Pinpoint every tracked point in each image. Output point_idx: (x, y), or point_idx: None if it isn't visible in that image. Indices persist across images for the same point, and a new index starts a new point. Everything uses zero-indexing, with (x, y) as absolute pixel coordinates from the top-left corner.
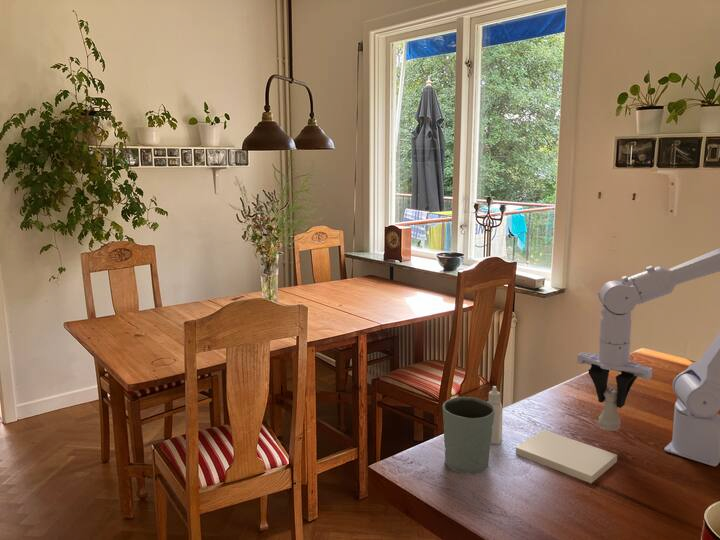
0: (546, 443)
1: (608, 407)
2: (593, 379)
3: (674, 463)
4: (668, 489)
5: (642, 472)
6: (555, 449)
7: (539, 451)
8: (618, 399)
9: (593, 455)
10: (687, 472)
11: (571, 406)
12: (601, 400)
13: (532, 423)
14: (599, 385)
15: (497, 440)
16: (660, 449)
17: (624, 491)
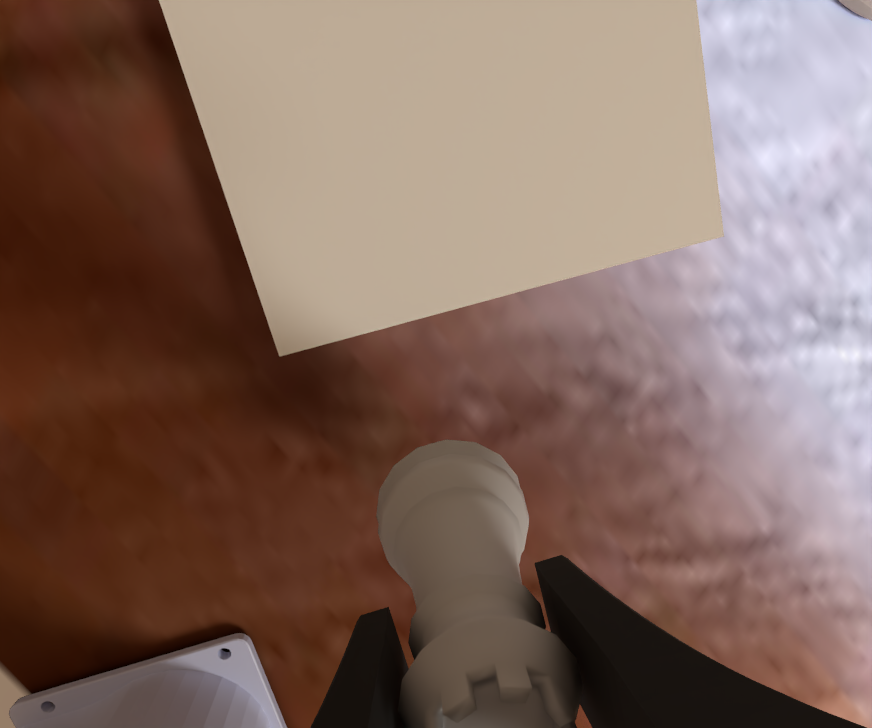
0: (599, 102)
1: (456, 559)
2: (785, 715)
3: (137, 577)
4: None
5: (142, 372)
6: (516, 85)
7: None
8: (359, 668)
9: (341, 228)
10: (41, 558)
11: (807, 615)
12: (541, 572)
13: (823, 303)
14: (636, 685)
15: None
16: (271, 629)
17: (28, 115)
